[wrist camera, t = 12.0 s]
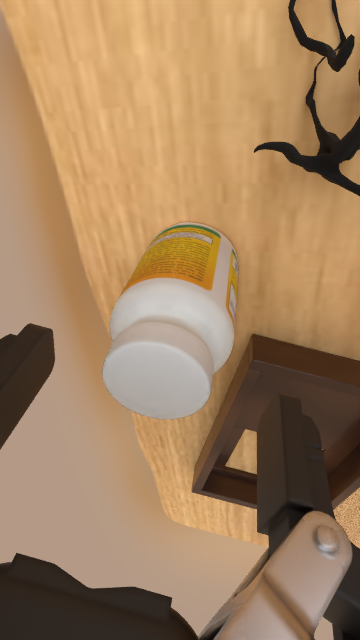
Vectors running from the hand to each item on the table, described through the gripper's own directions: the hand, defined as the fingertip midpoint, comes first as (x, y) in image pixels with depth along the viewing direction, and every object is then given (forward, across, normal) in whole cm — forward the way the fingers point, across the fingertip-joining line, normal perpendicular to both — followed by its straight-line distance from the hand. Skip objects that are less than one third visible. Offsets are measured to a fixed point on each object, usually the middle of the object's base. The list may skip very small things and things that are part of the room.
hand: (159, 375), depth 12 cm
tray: (+9, -11, +13) cm, 20 cm away
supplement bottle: (+10, 0, +1) cm, 10 cm away
